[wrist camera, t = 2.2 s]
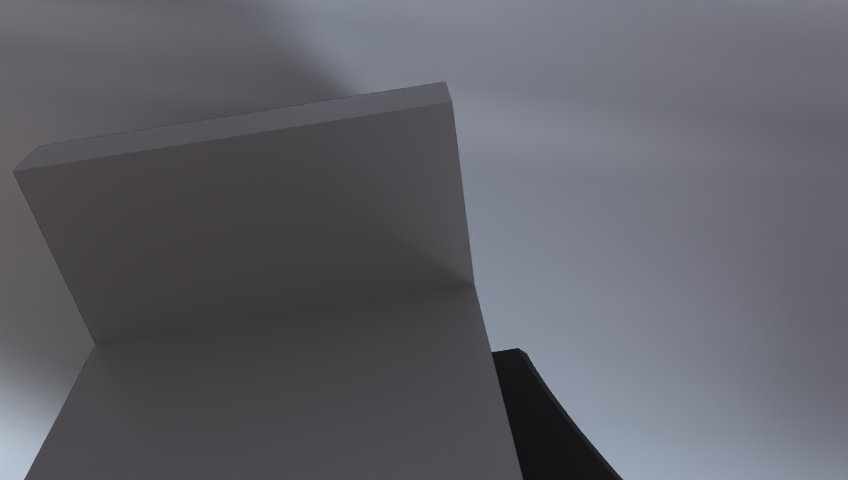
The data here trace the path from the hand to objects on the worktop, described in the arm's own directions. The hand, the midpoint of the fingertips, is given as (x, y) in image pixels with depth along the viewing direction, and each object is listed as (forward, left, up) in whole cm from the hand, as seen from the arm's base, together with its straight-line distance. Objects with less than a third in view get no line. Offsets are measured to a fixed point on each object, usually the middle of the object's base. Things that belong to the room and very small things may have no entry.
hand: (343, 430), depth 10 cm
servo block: (0, 0, -2) cm, 2 cm away
